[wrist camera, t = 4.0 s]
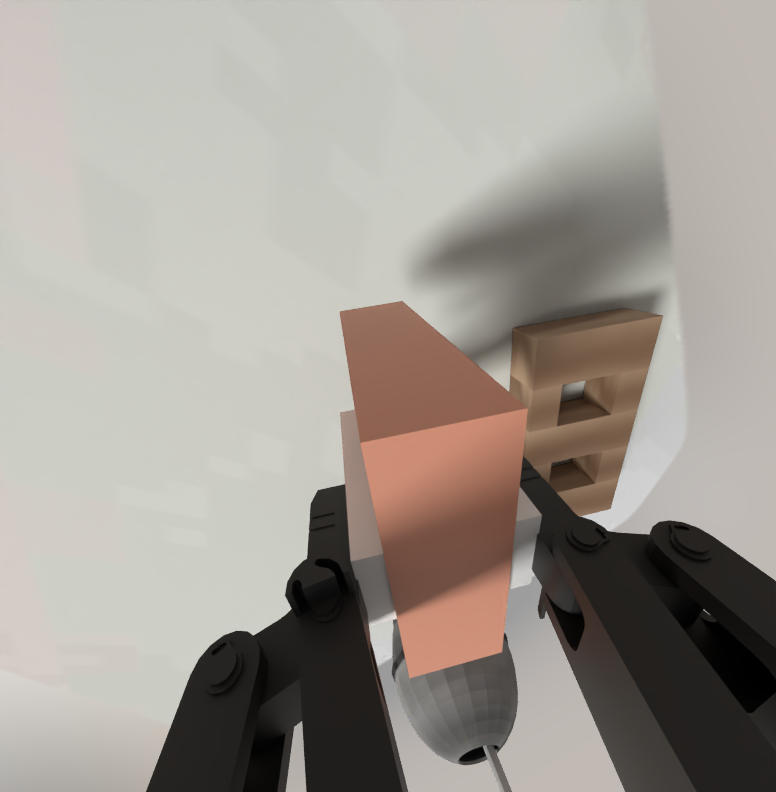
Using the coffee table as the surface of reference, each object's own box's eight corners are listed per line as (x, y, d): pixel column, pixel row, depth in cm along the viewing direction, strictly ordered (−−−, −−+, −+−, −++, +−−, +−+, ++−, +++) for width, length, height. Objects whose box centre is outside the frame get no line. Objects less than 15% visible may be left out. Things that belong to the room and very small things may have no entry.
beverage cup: (378, 480, 26) (477, 954, 9) (455, 485, 28) (667, 888, 10) (362, 540, 29) (412, 991, 12) (433, 541, 31) (570, 933, 13)
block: (339, 311, 14) (360, 443, 5) (402, 301, 15) (527, 408, 5) (369, 460, 19) (409, 678, 9) (417, 450, 19) (501, 652, 10)
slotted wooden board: (513, 328, 22) (537, 338, 20) (624, 307, 23) (663, 315, 21) (503, 506, 30) (519, 531, 28) (586, 486, 31) (610, 508, 29)
